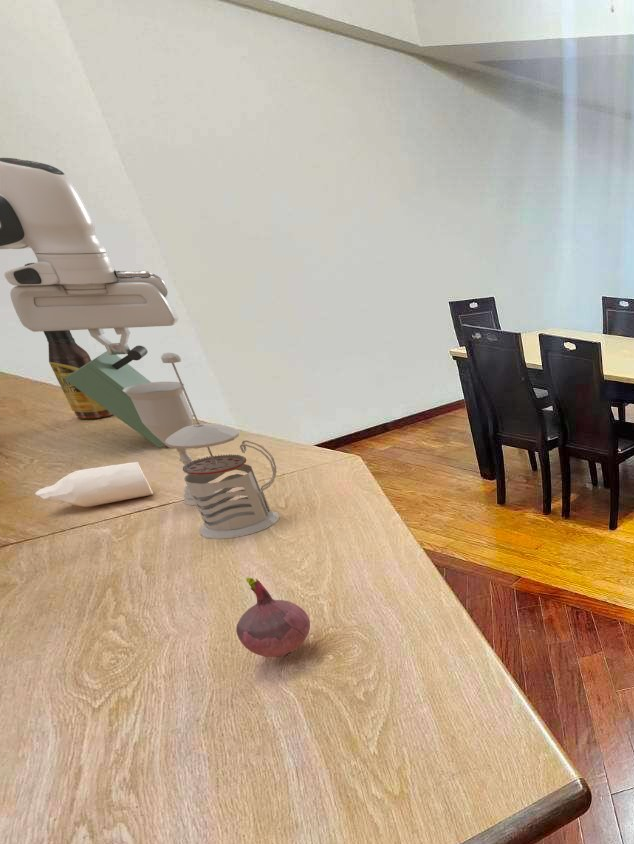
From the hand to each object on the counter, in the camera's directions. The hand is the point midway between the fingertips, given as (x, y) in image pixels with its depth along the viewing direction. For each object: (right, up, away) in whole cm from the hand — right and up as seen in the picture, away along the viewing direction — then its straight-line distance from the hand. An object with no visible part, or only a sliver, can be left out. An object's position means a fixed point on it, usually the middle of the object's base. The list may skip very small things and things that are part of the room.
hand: (120, 354), depth 109 cm
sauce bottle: (-25, -7, +20) cm, 33 cm away
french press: (+40, -33, -19) cm, 55 cm away
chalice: (+27, -28, -13) cm, 41 cm away
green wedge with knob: (-3, -9, +3) cm, 10 cm away
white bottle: (+14, -29, -16) cm, 36 cm away
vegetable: (+66, -48, -45) cm, 93 cm away
